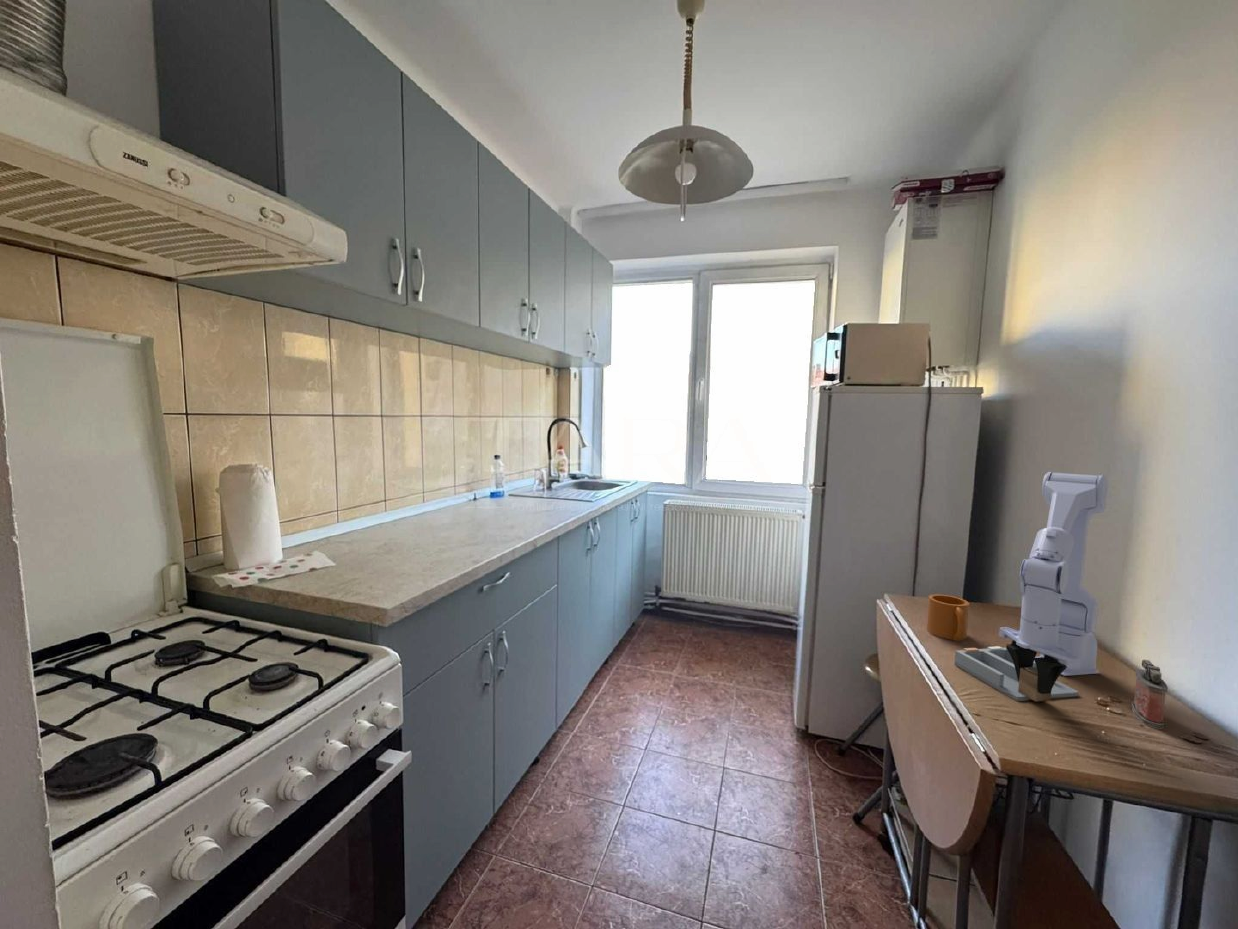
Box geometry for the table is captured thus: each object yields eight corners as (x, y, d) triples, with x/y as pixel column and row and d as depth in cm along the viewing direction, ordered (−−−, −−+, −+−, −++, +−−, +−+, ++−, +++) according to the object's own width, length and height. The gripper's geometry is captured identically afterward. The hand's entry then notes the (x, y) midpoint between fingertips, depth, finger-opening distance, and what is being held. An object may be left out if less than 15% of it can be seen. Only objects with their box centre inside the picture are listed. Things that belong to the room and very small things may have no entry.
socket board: (1009, 661, 115) (1011, 645, 115) (1079, 695, 101) (1080, 678, 100) (954, 664, 113) (955, 649, 113) (1017, 701, 98) (1018, 682, 98)
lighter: (1168, 731, 89) (1174, 677, 89) (1141, 724, 91) (1147, 671, 90) (1151, 709, 96) (1157, 659, 95) (1127, 704, 98) (1132, 654, 97)
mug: (934, 642, 125) (936, 607, 124) (922, 625, 136) (924, 592, 136) (977, 647, 122) (978, 611, 122) (961, 629, 134) (962, 596, 133)
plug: (1032, 690, 101) (1035, 665, 100) (1050, 700, 97) (1053, 673, 97) (1018, 691, 100) (1020, 666, 100) (1035, 701, 97) (1037, 675, 96)
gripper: (988, 607, 104) (983, 670, 105) (1060, 636, 90) (1053, 709, 91) (1017, 606, 105) (1012, 668, 106) (1093, 634, 91) (1086, 706, 92)
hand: (1033, 687), depth 99 cm, fingers closed on plug, 3 cm apart
